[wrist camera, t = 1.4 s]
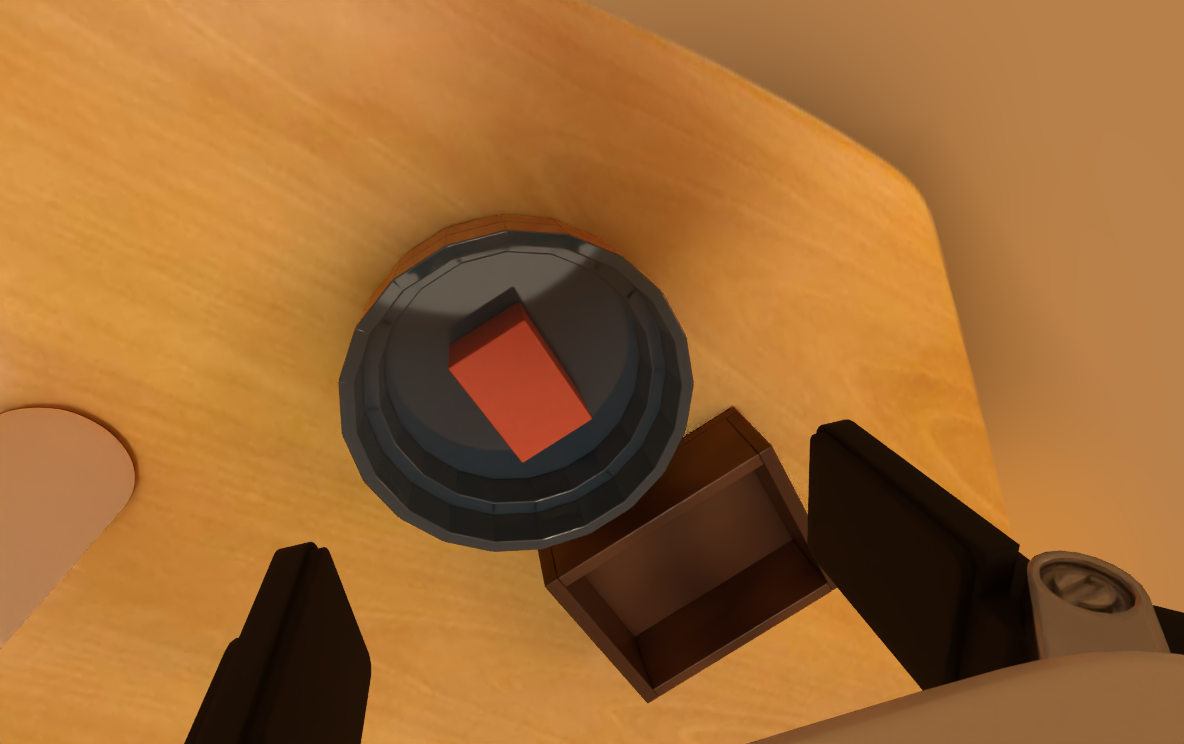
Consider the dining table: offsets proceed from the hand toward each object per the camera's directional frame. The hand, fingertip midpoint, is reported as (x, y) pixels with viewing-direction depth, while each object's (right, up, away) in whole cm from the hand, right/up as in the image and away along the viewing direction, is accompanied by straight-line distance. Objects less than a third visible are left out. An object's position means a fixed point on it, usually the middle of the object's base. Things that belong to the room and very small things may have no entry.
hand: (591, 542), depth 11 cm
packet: (-4, +3, +18) cm, 19 cm away
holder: (+5, -7, +25) cm, 27 cm away
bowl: (-4, +4, +19) cm, 20 cm away
